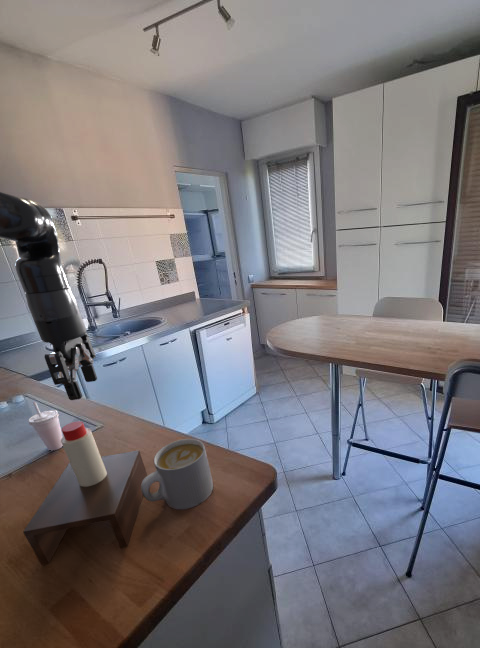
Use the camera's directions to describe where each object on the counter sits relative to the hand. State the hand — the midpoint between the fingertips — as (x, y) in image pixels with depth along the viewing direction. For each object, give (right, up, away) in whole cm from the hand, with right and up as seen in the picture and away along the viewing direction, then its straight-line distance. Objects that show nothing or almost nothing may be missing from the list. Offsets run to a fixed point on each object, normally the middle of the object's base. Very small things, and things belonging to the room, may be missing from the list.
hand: (84, 389), depth 70 cm
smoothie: (-21, -17, +21) cm, 34 cm away
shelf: (+6, -25, -3) cm, 26 cm away
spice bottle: (+5, -17, -5) cm, 18 cm away
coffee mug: (+20, -22, +1) cm, 30 cm away
